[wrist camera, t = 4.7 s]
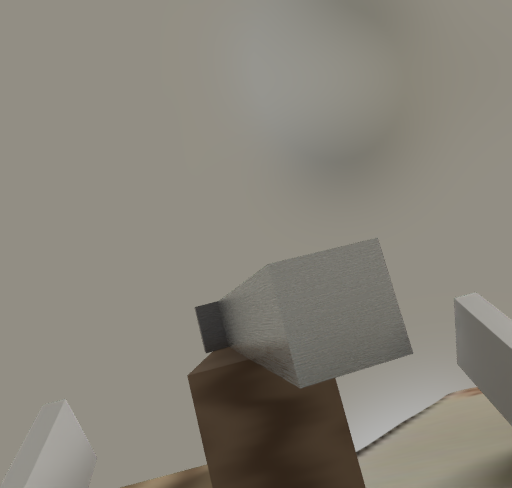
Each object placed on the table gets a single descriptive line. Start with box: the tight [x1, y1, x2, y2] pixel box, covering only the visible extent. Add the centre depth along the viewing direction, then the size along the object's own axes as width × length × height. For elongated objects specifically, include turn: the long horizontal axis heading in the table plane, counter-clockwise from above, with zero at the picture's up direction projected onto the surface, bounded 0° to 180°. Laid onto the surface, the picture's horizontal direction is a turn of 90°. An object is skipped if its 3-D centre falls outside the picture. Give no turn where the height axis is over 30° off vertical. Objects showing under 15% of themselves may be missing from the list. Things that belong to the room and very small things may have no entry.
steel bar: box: [195, 238, 413, 389], centre depth 26 cm, size 8×26×4 cm, turn 10°
